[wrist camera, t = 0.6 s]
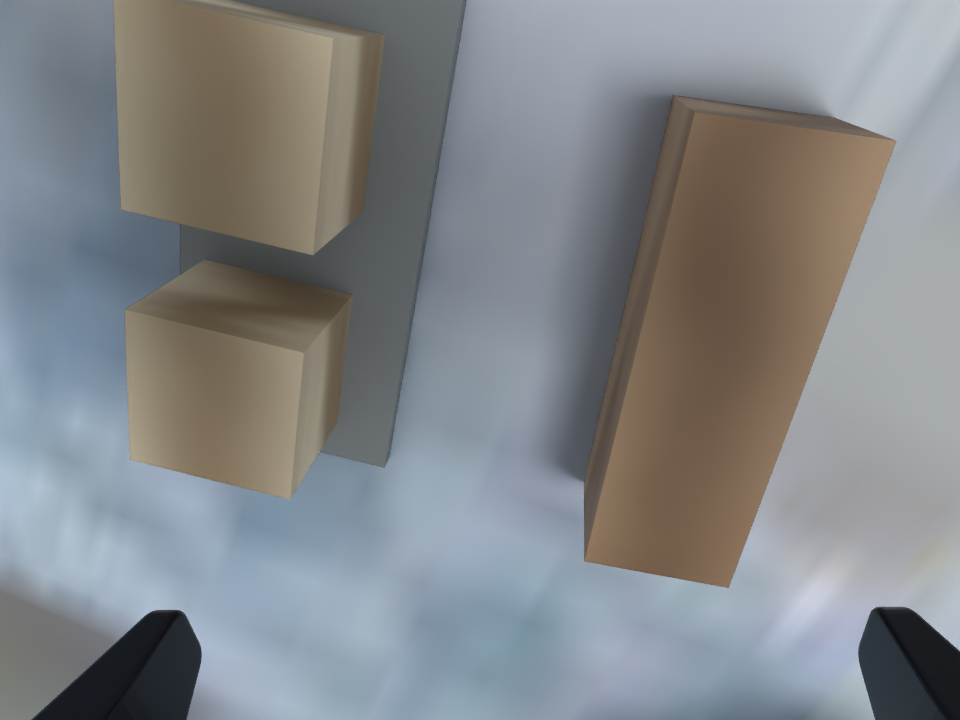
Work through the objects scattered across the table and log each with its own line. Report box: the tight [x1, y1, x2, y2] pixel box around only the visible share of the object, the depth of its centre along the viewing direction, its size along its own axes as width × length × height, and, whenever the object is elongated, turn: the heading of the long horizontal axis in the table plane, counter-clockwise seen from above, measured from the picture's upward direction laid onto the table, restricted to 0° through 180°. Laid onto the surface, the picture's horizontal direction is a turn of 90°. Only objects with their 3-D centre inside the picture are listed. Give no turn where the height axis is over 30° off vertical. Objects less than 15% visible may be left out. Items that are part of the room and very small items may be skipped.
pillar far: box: [125, 260, 353, 499], centre depth 20 cm, size 4×4×4 cm
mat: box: [180, 0, 466, 468], centre depth 20 cm, size 7×14×1 cm, turn 169°
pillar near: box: [113, 0, 385, 255], centre depth 16 cm, size 4×4×4 cm
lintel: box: [584, 95, 896, 588], centre depth 18 cm, size 4×12×4 cm, turn 173°
